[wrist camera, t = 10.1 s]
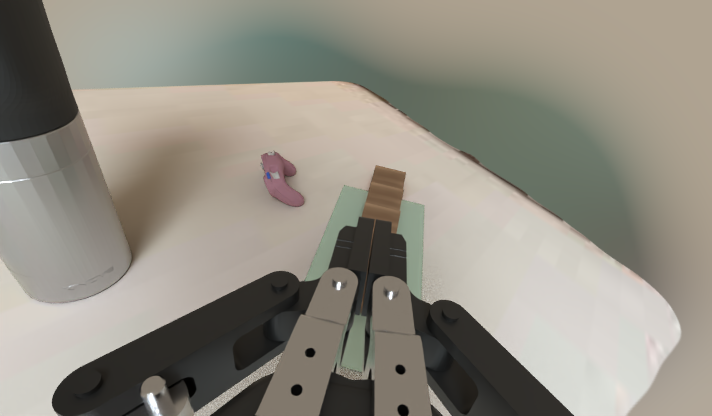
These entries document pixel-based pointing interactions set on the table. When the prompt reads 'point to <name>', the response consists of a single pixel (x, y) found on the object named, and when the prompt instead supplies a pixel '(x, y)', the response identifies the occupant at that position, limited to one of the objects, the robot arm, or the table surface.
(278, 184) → the video game controller
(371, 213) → the domino
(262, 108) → the table surface
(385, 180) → the domino
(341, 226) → the felt mat
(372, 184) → the domino
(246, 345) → the robot arm
